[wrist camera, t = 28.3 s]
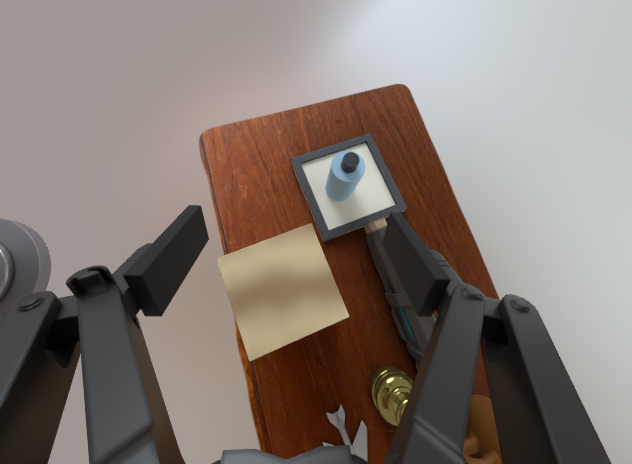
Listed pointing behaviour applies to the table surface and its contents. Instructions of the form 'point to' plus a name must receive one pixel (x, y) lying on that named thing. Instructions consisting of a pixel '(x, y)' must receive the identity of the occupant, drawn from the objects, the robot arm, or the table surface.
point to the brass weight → (390, 392)
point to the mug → (481, 433)
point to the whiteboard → (366, 200)
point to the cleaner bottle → (344, 175)
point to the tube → (398, 296)
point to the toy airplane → (359, 441)
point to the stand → (281, 290)
